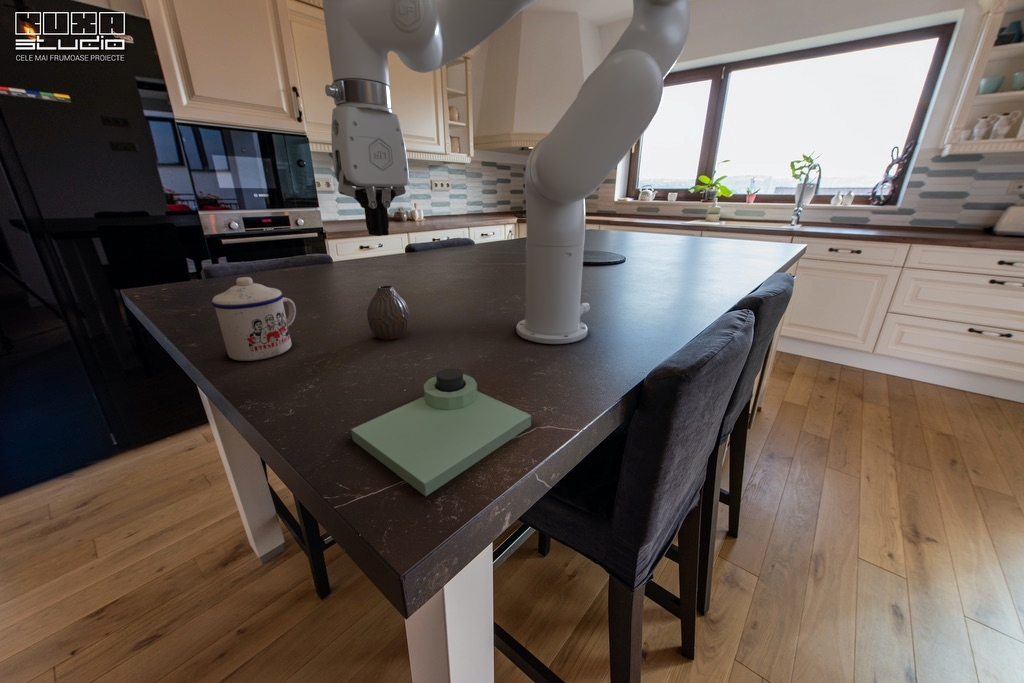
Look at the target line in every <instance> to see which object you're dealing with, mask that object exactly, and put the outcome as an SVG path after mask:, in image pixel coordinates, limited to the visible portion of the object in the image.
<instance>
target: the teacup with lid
mask: <svg viewBox="0 0 1024 683" xmlns="http://www.w3.org/2000/svg"><path fill="white" fill-rule="evenodd" d="M235 283H236V285H235V284H234V285H233V286H230V287H229V288H228V289H227V290H225V291H224V292H221V293H218V294H216V295H214V296H213V297H212V300H211V305H212V307H213V308H214V309H215V312H216V317H217V321H218V324H219V327H220V331H221V335H222V339H223V341H224V344H225V345H224V346H225V349H226V352H227V355H228V357H229V358H230V359H232V360H234V361H239V362H253V361H260V360H265V359H270V358H273V357H277V356H279V355H281V354H284V353H286V352H288V351H289V350H290V349H291V348H292V338H291V333H290V329H289V327H290V326H291V325H292V324H293V323H294V321H295V318H296V315H297V308H296V304H295V302H294V301H293V299H290V298H288V297H284V294H283V292H282V291H281V290H280V289H278V288H276V287H275V288H274V287H267V286H266V285H263V284H262V283H261V284H260V283H256V282H254V281H253V278H252V277H250V276H243V277H242V276H241V277H238V278H236V280H235ZM284 303H285V304H286V305H287V309H288V313H287V316H286V310H285V306H284Z"/></svg>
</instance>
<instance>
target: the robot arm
mask: <svg viewBox="0 0 1024 683" xmlns="http://www.w3.org/2000/svg"><path fill="white" fill-rule="evenodd" d="M538 1H540V0H437V1H435V0H322V10H323V17H324V24H325V25H324V26H325V32H326V38H327V47H328V55H329V63H330V69H331V77H332V82H331V84H325V87H324V92H325V95H326V96H327V97H330V98H332V99H333V101H334V105H335V107H334V108H332V112H331V113H332V114H331V128H330V130H331V132H330V133H331V153H332V164H333V170H334V175H335V176H334V177H335V179H336V181H337V183H338V188H337V192H338V193H339V194H340V195H343V196H346V197H349V198H353V199H354V200H355V201H356V202H357V203H358V204H359V205H360V206H359V207H360V208H362V209H364V217H365V219H364V220H365V227H366V229H367V232H368V235H369V236H376V237H382V236H389V233H390V232H389V229H390V222H389V214H388V213H389V212H388V209H390V208H391V204H392V202H393V201H394V199H395V198H396V197H400V196H403V195H405V194H406V191H407V190H406V186H407V185H408V184H409V183H410V172H409V163H408V155H407V150H406V149H407V148H406V143H405V139H404V133H403V129H402V125H401V122H400V119H399V116H398V114H396V113H393V105H392V102H393V101H392V93H391V84H390V72H389V71H390V70H389V60H388V54H389V52H393V53H395V54H396V56H397V57H398V58H399V60H400V61H401V63H403V64H404V66H405V67H406V68H408V69H410V70H411V71H413V72H416V73H422V74H423V73H425V74H426V73H431V72H433V71H437V70H439V69H441V68H442V67H445V66H446V65H448V64H450V63H451V62H453V61H455V60H457V59H459V58H460V57H462V56H464V55H465V54H467V53H469V52H471V51H472V50H473V49H475V48H476V47H478V46H479V45H481V44H482V43H483V42H484V41H486V40H487V39H488V38H489V37H490V36H492V35H493V34H494V33H495V32H497V31H498V30H500V29H501V28H503V27H504V26H505V25H506V24H508V23H509V22H510V21H511V20H512V19H513V18H514V17H515V16H516V15H518V14H519V13H520V12H522V11H524V10H525V9H526V8H528V7H530V6H532V5H533V4H535V3H538ZM632 4H633V5H632V7H633V11H632V17H631V21H630V22H629V24H628V25H627V27H626V28H625V30H624V31H623V33H622V34H621V36H620V37H619V39H618V40H617V41H616V43H615V45H614V46H613V48H611V50H610V51H609V53H608V54H607V55H606V57H605V58H604V59H603V61H602V62H601V63H600V64H599V65H598V66H597V67H596V68H595V69H593V71H592V72H591V73H590V74H589V76H587V77H586V79H585V81H584V82H583V84H582V85H581V87H580V89H579V90H578V92H577V95H576V98H575V99H574V100H573V101H572V103H571V105H570V106H569V107H568V108H567V110H566V111H565V113H564V114H563V115H562V116H561V118H560V119H559V121H558V122H557V123H556V124H555V126H554V127H553V128H552V129H551V131H550V132H549V133H548V134H547V135H546V136H544V137H543V138H542V139H541V140H539V141H538V142H537V143H536V144H535V145H534V147H532V150H531V151H530V153H529V155H528V156H527V160H526V163H525V174H524V185H525V187H524V188H525V206H526V207H525V208H526V209H525V210H526V212H525V213H526V232H525V234H526V236H525V237H526V240H525V292H524V294H525V296H524V297H525V299H524V300H525V304H524V317H525V318H524V319H522V320H520V321H519V322H518V323H516V327H515V328H516V334H517V335H518V336H519V337H521V338H522V339H524V340H526V341H529V342H532V343H533V342H534V343H537V344H543V345H544V344H545V345H547V344H548V345H565V344H570V343H571V344H572V343H575V342H579V341H582V340H583V339H585V338H586V337H587V336H588V326H587V324H585V323H584V322H582V321H581V317H582V316H583V315H584V314H586V313H588V312H590V310H591V306H590V304H589V303H588V302H582V303H581V299H582V298H581V297H582V296H581V295H582V280H583V267H584V252H585V251H584V249H585V241H586V240H585V238H586V201H585V199H586V198H588V197H589V196H591V195H592V194H593V193H595V191H597V190H598V189H599V188H600V187H601V185H602V184H603V183H605V181H606V179H607V178H608V177H609V176H610V175H611V173H612V172H613V171H614V170H616V168H617V167H618V165H619V164H620V163H621V161H622V160H623V159H624V158H625V157H626V155H627V154H628V153H629V152H630V150H631V149H632V148H633V147H634V146H635V144H636V143H637V142H638V141H639V139H640V138H641V137H642V136H643V134H644V133H645V132H646V130H647V129H648V128H649V126H650V125H651V123H652V122H653V120H654V119H655V117H656V115H657V114H658V111H659V109H660V106H661V104H662V100H663V96H664V79H665V78H666V76H668V74H669V73H670V71H671V70H672V68H674V66H675V65H676V64H677V62H678V59H680V56H681V55H682V53H683V51H684V49H685V47H686V45H687V42H688V37H689V32H690V23H691V22H690V21H691V7H690V0H632Z"/></svg>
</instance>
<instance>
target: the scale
mask: <svg viewBox="0 0 1024 683" xmlns="http://www.w3.org/2000/svg"><path fill="white" fill-rule="evenodd" d="M463 385H464V387H463V389H460V390H458V391H454V392H441V391H439V390H438V389H437V379H436V376H434V377H431V378H429V379H428V380H427V381H426V382H425V383H424V384H423V396H421V397H420V398H417V399H415V400H413V401H410V402H408V403H407V404H404V405H402V406H399V407H398V408H394V409H393V410H391V411H389V412H385V413H384V414H382V415H380V416H377V417H375V418H372V419H371V420H368V421H366V422H364V423H362V424H359V425H358V426H355V427H353V428H351V429H350V431H351V438H352V441H353V442H354V443H355V444H357V445H358V446H359V447H361V449H363V450H365V451H366V452H367V453H368V454H370V455H371V456H372V457H373V458H375V459H376V460H377V461H379V462H380V463H382V465H384V466H385V467H387V468H388V469H389V470H390V471H392V472H393V473H395V475H397V476H398V477H400V478H401V479H402V480H403V481H404V482H406V483H407V484H409V485H410V486H411V487H413V488H414V489H415V490H417V491H418V493H420V494H421V495H423V496H424V497H428V496H429V495H430V494H432V493H433V492H435V491H436V490H438V489H439V488H441V487H443V486H444V485H445V484H447V483H448V482H450V481H451V480H453V479H454V478H456V477H457V476H458V475H460V474H462V473H463V472H464V471H466V470H468V469H469V468H471V467H472V466H473V465H475V464H476V463H478V462H479V461H481V460H483V459H484V458H486V457H487V456H488V455H490V454H492V453H493V452H494V451H496V450H497V449H499V448H500V447H502V446H504V444H506V443H508V442H509V441H511V440H512V439H513V438H516V436H518V435H519V434H521V433H522V432H524V431H525V430H527V429H529V428H530V427H531V426H532V415H531V414H529V413H527V412H525V411H523V410H520V409H518V408H516V407H513V406H512V405H509V404H507V403H504V402H502V401H500V400H498V399H495V398H493V397H491V396H489V395H487V394H485V393H482V392H480V391H478V384H477V382H476V380H475V378H474V377H472V376H470V375H468V374H466V373H465V374H464V373H463Z"/></svg>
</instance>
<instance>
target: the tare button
mask: <svg viewBox="0 0 1024 683" xmlns="http://www.w3.org/2000/svg"><path fill="white" fill-rule="evenodd" d="M463 374H464V372H463V371H462V369H460V368H455V367H452V368H451V367H449V368H442V369H441V370H439V371H437V372H436V374H435V377H436V379H437V389H438V390H439V391H441V392H454V391H458V390H460V389H463V387H464V385H463Z"/></svg>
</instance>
